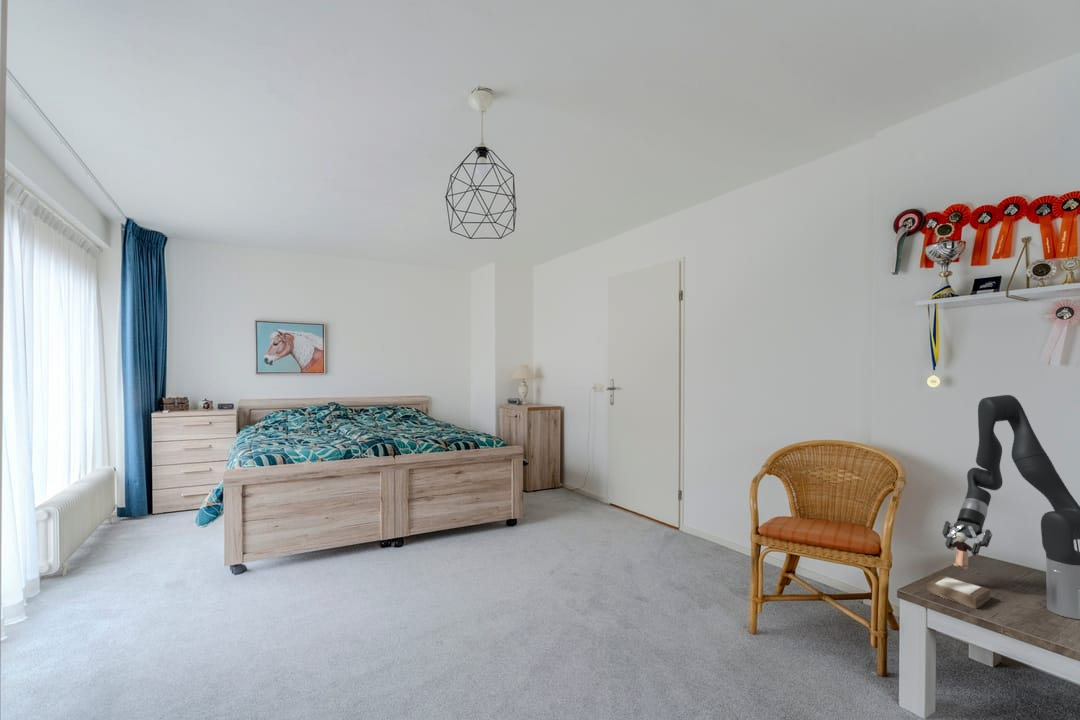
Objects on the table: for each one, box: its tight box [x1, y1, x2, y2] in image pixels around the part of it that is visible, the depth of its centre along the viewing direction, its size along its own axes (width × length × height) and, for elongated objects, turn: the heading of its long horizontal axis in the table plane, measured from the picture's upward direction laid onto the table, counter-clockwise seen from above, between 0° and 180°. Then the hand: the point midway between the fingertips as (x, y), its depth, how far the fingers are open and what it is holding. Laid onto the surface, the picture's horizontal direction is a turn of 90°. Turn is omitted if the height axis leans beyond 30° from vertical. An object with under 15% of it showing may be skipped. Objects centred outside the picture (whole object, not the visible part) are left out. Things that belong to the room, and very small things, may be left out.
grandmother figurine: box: [950, 532, 974, 570], centre depth 191 cm, size 8×4×13 cm, turn 35°
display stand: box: [926, 575, 991, 610], centre depth 182 cm, size 14×12×4 cm
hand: (960, 550), depth 190 cm, fingers closed on grandmother figurine, 7 cm apart
